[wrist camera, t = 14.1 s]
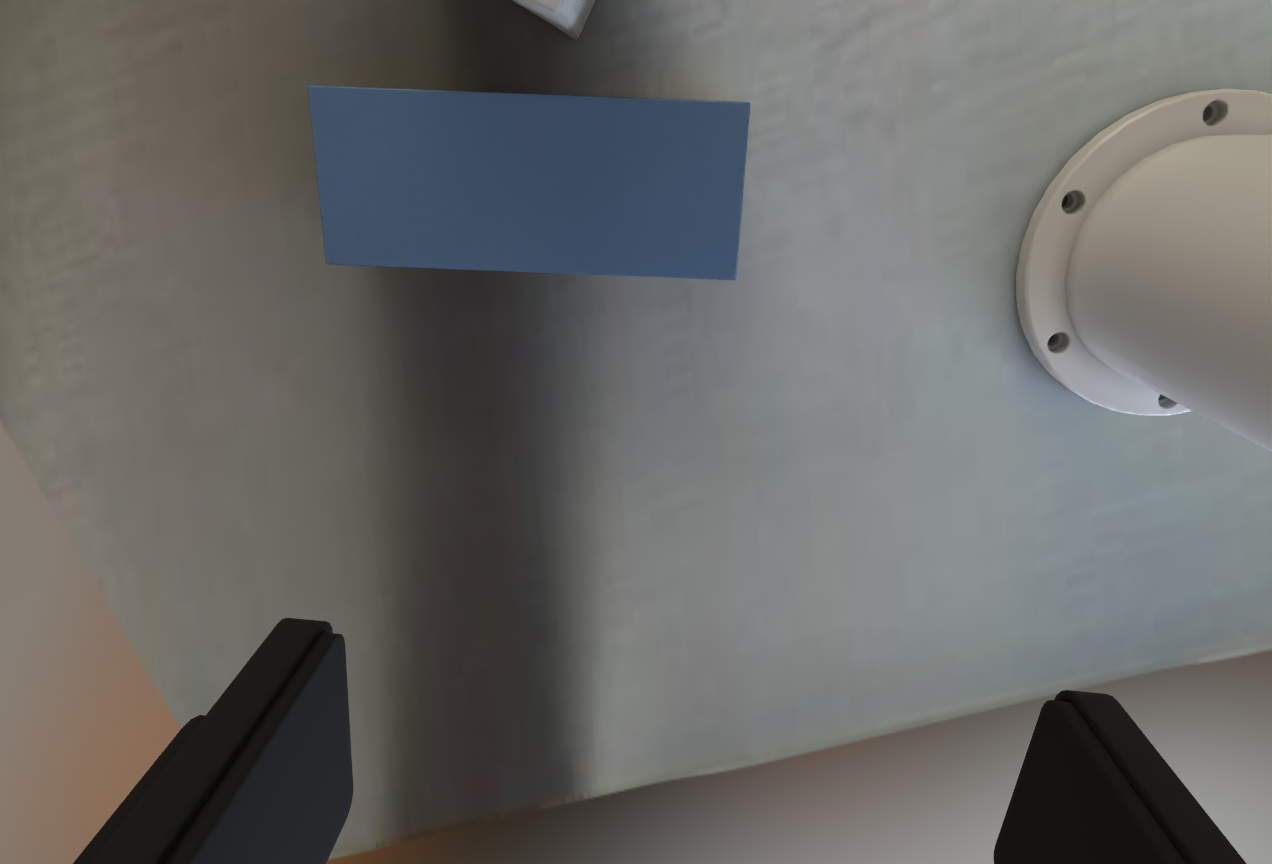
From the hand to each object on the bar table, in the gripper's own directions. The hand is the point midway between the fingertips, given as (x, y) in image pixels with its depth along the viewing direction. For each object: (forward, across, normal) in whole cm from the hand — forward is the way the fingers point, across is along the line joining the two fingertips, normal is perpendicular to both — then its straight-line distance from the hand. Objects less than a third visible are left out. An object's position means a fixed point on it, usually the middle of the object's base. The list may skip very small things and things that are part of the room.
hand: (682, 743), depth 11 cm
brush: (+24, +6, -5) cm, 25 cm away
